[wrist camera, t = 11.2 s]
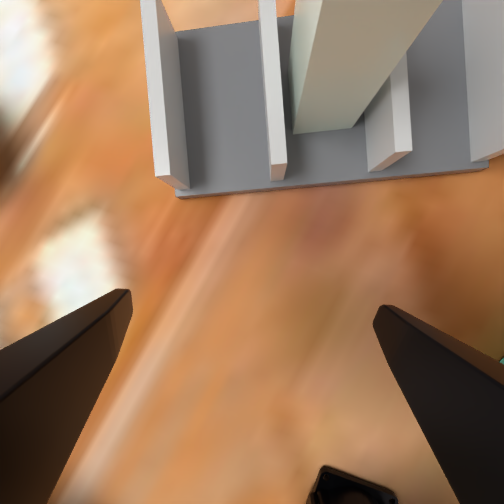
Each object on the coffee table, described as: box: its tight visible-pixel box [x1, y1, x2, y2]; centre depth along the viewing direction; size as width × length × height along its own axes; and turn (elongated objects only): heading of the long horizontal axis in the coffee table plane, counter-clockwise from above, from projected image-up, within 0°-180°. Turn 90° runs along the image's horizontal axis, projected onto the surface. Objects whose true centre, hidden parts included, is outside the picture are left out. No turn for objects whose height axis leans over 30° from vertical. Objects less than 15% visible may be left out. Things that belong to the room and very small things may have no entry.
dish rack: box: [140, 0, 504, 199], centre depth 17 cm, size 13×24×5 cm, turn 94°
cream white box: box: [288, 0, 443, 134], centre depth 12 cm, size 4×5×13 cm
